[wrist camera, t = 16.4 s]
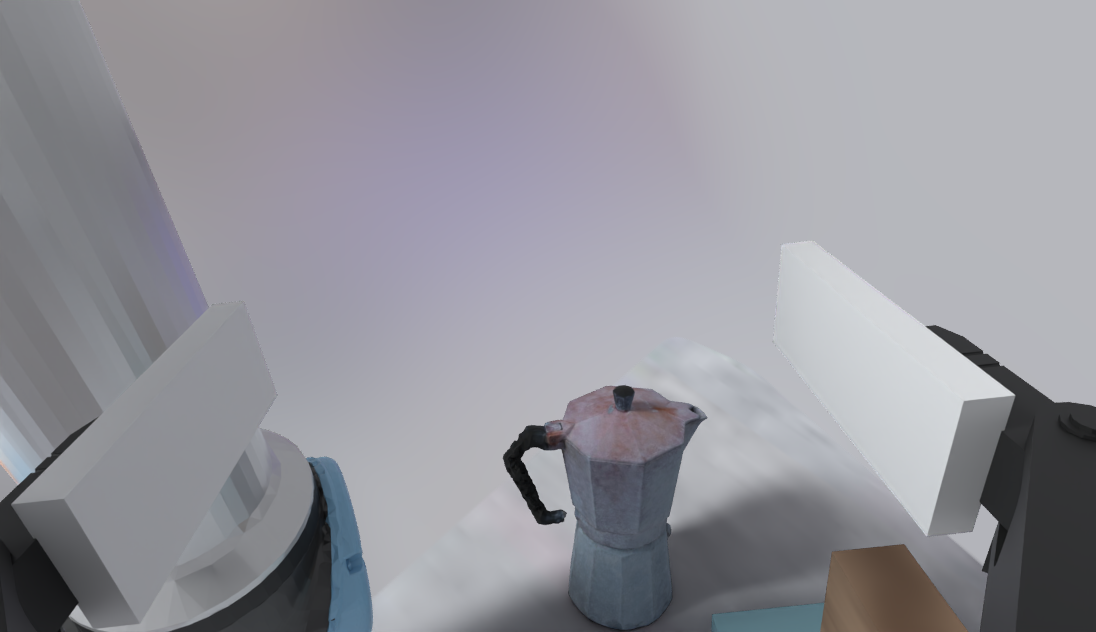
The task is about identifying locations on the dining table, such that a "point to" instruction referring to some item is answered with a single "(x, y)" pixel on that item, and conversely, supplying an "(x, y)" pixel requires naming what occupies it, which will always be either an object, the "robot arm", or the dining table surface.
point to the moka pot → (615, 496)
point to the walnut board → (883, 594)
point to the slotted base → (771, 619)
